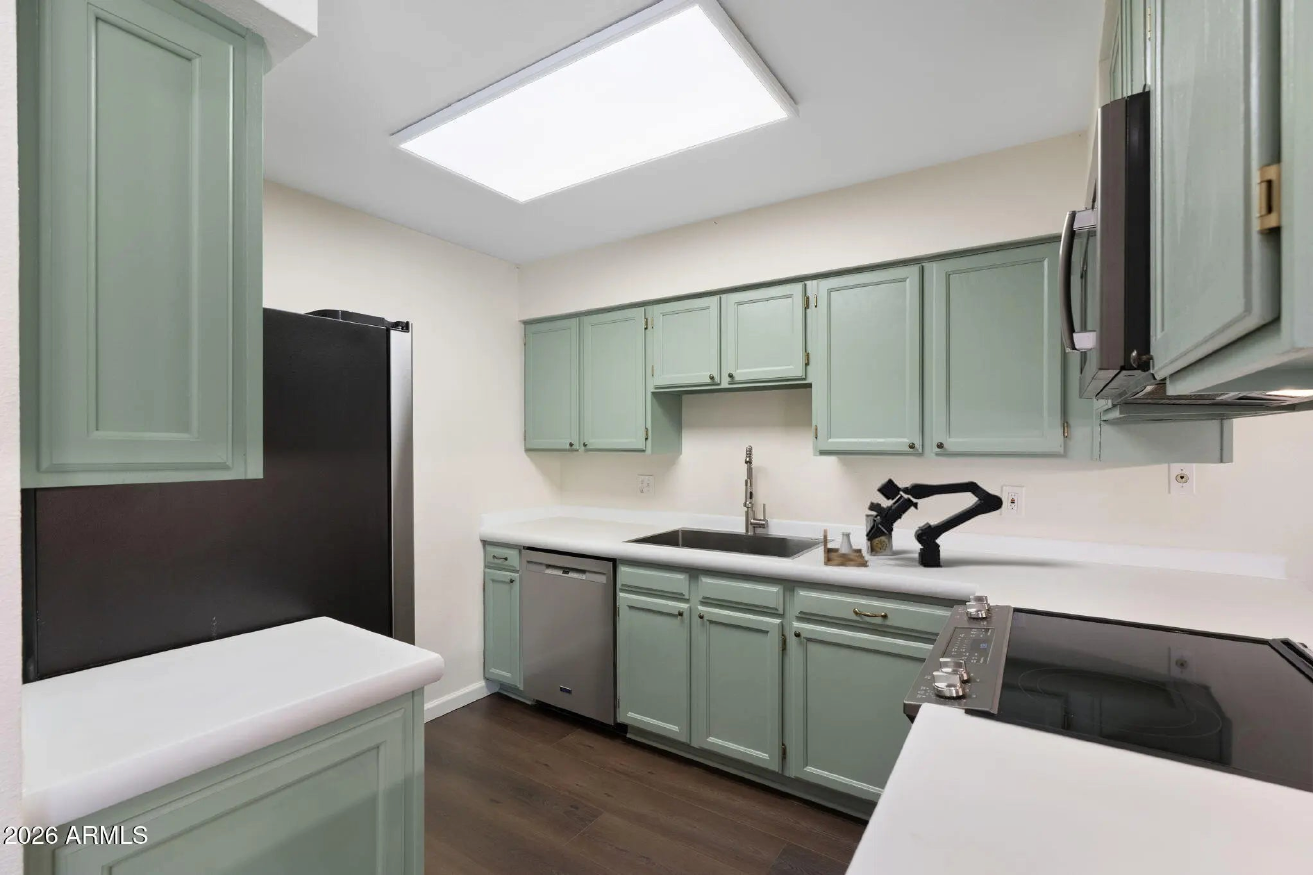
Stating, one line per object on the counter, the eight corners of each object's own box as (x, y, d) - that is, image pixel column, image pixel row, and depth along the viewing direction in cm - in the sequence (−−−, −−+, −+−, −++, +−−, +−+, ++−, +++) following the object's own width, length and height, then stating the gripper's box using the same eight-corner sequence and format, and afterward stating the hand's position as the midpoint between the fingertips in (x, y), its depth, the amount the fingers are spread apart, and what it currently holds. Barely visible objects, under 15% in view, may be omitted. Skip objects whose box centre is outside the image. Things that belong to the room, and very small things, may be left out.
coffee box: (888, 552, 246) (887, 513, 246) (893, 555, 240) (892, 515, 240) (865, 552, 247) (864, 513, 247) (869, 555, 241) (868, 515, 241)
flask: (847, 556, 234) (846, 530, 234) (860, 559, 227) (859, 533, 227) (832, 558, 231) (832, 532, 231) (845, 561, 224) (844, 534, 224)
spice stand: (864, 559, 234) (863, 530, 234) (866, 567, 220) (865, 535, 220) (824, 558, 238) (823, 529, 238) (824, 565, 224) (823, 534, 224)
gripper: (878, 492, 234) (850, 519, 237) (882, 496, 216) (851, 526, 219) (901, 512, 232) (871, 540, 235) (906, 518, 214) (874, 548, 217)
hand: (867, 538), depth 227 cm, fingers open, 9 cm apart
